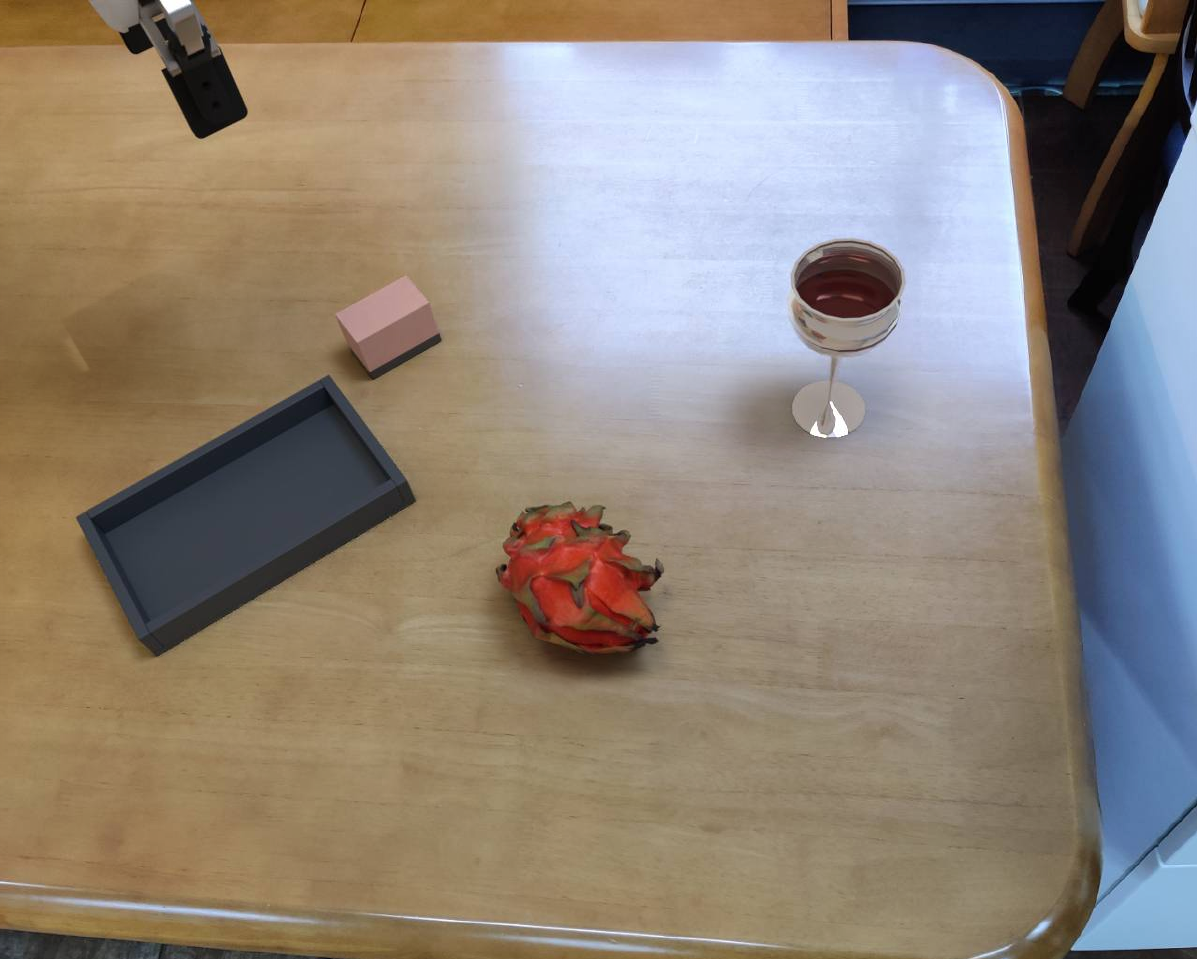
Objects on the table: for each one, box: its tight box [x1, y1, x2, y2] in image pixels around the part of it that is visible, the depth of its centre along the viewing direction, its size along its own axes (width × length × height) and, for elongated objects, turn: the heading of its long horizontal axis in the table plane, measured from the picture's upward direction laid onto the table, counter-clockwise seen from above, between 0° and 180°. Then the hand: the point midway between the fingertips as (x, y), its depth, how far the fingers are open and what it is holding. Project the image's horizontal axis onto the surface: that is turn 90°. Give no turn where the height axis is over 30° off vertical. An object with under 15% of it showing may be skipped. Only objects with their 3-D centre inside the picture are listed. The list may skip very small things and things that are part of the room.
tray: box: [75, 374, 417, 657], centre depth 71 cm, size 20×12×2 cm, turn 124°
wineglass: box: [787, 237, 907, 438], centre depth 67 cm, size 7×7×12 cm
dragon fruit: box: [495, 501, 665, 658], centre depth 64 cm, size 8×8×12 cm
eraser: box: [334, 275, 442, 380], centre depth 77 cm, size 6×4×4 cm, turn 124°
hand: (187, 82), depth 60 cm, fingers open, 9 cm apart
